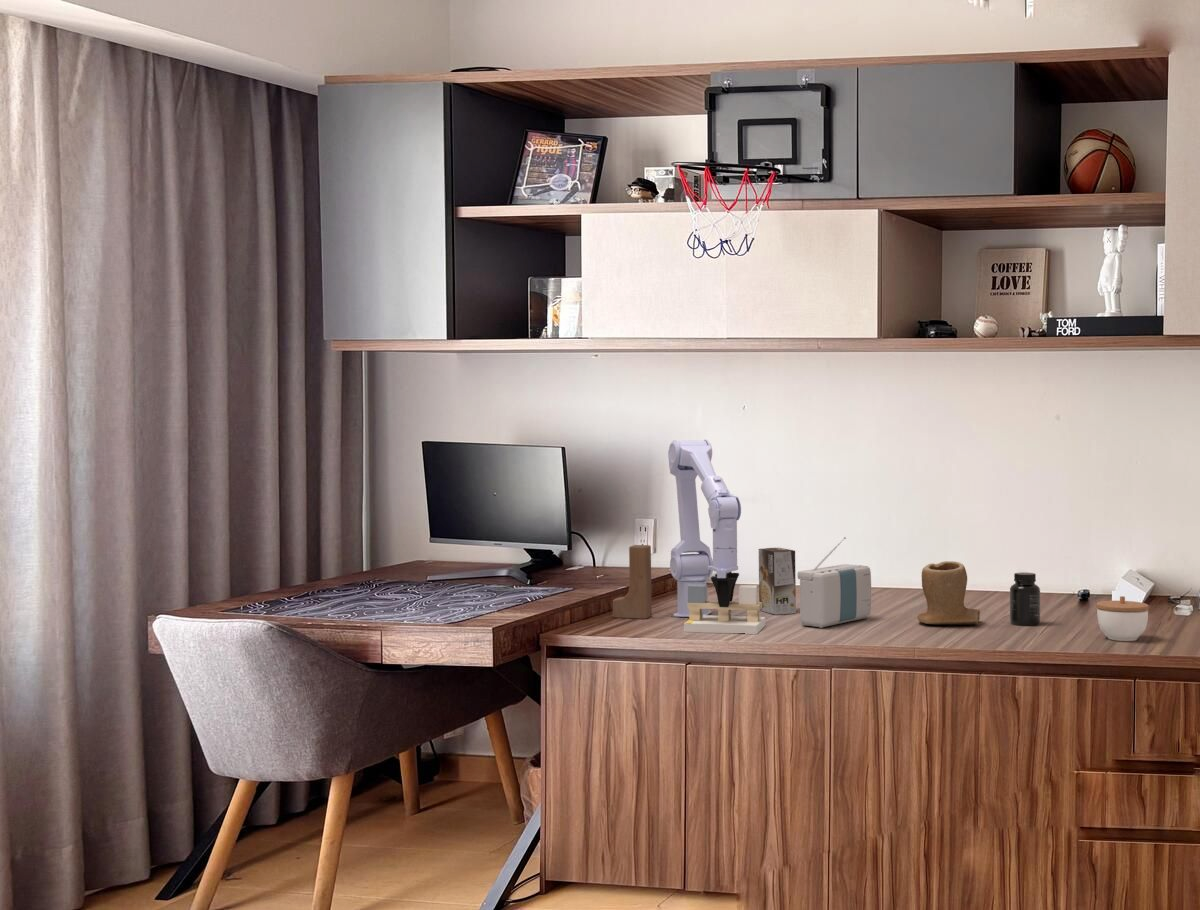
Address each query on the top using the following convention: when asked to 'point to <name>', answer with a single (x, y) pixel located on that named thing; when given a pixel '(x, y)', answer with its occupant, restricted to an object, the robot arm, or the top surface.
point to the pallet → (724, 610)
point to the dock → (724, 625)
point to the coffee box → (777, 581)
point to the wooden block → (636, 586)
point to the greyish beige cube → (748, 594)
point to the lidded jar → (1122, 619)
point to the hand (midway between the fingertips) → (725, 605)
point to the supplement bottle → (1025, 600)
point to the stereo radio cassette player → (834, 594)
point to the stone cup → (946, 595)
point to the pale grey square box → (697, 593)
